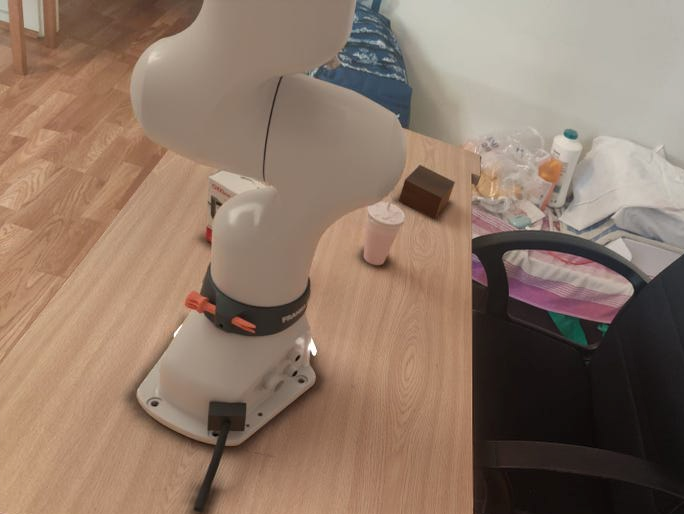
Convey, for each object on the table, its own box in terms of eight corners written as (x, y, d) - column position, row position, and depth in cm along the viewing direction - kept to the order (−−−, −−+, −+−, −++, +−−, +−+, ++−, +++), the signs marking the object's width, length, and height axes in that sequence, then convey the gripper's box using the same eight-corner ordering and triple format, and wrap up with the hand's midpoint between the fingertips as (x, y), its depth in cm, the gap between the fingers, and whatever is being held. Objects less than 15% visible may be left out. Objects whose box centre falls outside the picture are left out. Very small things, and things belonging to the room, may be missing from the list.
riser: (434, 219, 120) (441, 197, 116) (398, 201, 120) (404, 179, 116) (447, 202, 126) (455, 182, 122) (413, 185, 125) (419, 164, 122)
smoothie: (395, 254, 108) (415, 187, 98) (388, 274, 103) (408, 206, 94) (360, 242, 107) (377, 173, 97) (351, 262, 102) (368, 192, 93)
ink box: (203, 239, 94) (205, 174, 86) (225, 227, 97) (229, 163, 89) (249, 267, 93) (255, 203, 85) (270, 254, 97) (277, 192, 89)
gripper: (235, -29, 72) (298, 87, 78) (319, -47, 87) (366, 51, 93) (201, -5, 75) (264, 104, 81) (288, -27, 90) (336, 67, 96)
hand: (319, 76), depth 87 cm, fingers open, 8 cm apart
